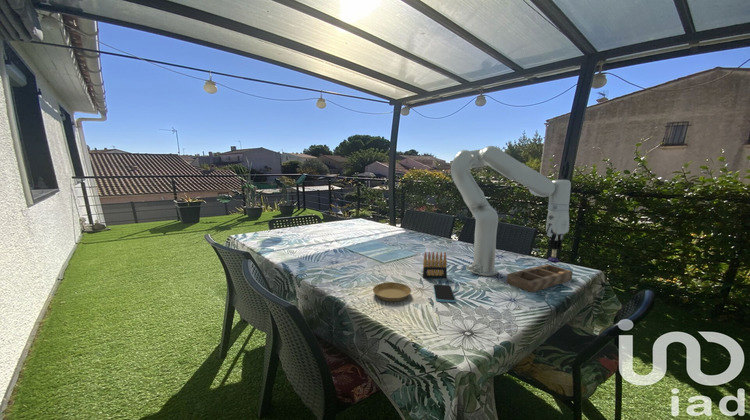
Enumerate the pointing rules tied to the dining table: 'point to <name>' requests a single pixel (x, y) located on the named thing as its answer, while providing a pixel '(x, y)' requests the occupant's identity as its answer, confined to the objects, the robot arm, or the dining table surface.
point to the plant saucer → (392, 291)
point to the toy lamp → (554, 254)
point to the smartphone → (443, 293)
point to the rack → (539, 277)
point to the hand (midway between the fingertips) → (555, 248)
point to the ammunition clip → (434, 266)
